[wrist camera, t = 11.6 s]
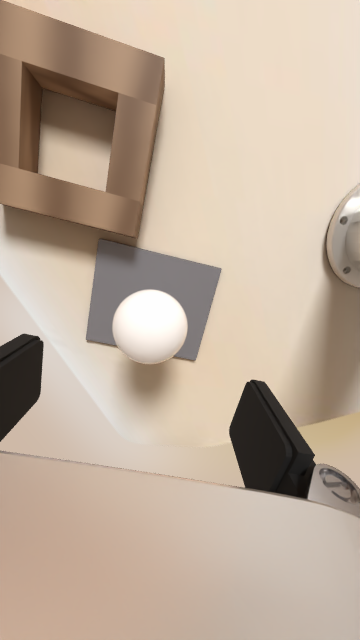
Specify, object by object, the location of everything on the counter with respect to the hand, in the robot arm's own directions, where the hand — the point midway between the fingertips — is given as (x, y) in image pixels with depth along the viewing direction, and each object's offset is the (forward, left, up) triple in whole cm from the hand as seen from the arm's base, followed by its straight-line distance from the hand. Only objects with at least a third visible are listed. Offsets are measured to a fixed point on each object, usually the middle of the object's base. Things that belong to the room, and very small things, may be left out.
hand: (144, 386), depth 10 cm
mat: (+1, 0, -18) cm, 18 cm away
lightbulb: (0, 0, -18) cm, 17 cm away
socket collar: (+11, -14, -18) cm, 25 cm away
